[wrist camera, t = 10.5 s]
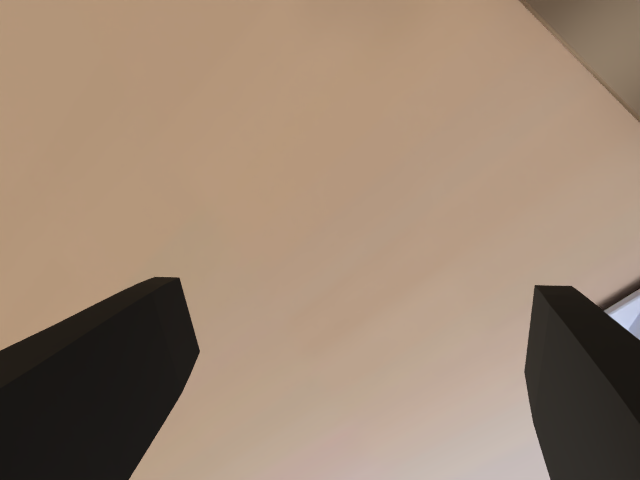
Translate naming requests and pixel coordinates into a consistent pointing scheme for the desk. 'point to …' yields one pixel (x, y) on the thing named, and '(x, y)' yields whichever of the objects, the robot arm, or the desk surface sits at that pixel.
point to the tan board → (599, 40)
